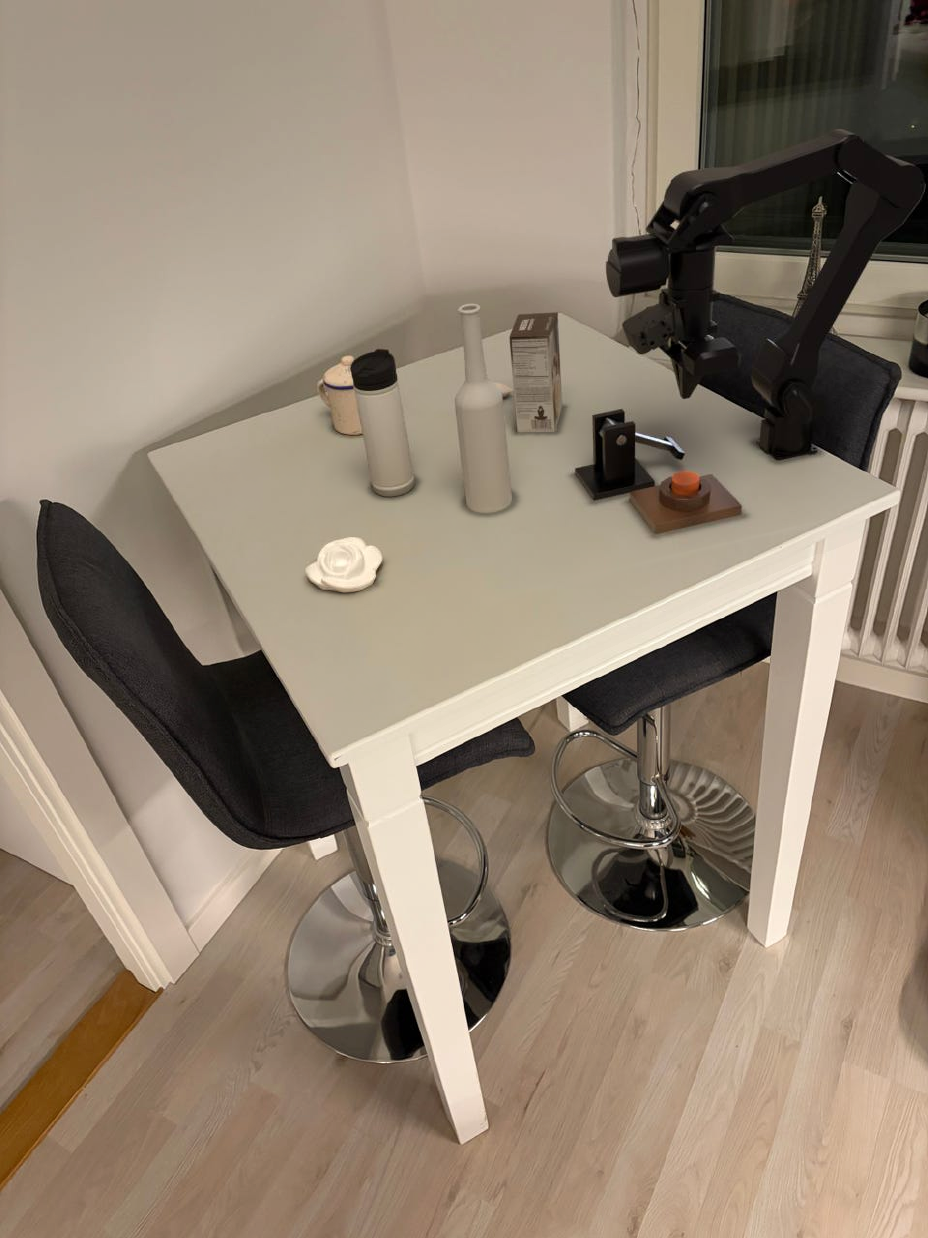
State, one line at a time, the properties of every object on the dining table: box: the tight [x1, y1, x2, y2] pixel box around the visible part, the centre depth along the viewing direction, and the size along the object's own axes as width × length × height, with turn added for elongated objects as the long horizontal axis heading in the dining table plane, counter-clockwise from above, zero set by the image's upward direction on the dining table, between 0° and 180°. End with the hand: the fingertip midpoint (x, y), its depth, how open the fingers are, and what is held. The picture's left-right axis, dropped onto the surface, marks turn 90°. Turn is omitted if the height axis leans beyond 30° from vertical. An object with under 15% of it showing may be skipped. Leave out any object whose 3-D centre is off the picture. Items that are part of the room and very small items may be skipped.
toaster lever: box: [599, 418, 686, 461], centre depth 129 cm, size 12×5×2 cm, turn 105°
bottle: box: [454, 303, 513, 514], centre depth 123 cm, size 7×7×28 cm
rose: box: [304, 536, 383, 593], centre depth 120 cm, size 10×4×10 cm
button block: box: [629, 473, 743, 535], centre depth 124 cm, size 12×9×4 cm
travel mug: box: [350, 348, 416, 498], centre depth 132 cm, size 6×7×20 cm
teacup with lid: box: [316, 355, 363, 436], centre depth 153 cm, size 12×9×12 cm
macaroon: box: [492, 381, 514, 399], centre depth 157 cm, size 4×5×2 cm
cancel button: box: [671, 470, 700, 495], centre depth 123 cm, size 4×4×2 cm
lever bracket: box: [574, 408, 656, 501], centre depth 129 cm, size 9×8×10 cm
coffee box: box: [508, 311, 563, 433], centre depth 145 cm, size 9×6×16 cm
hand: (685, 397), depth 127 cm, fingers closed
